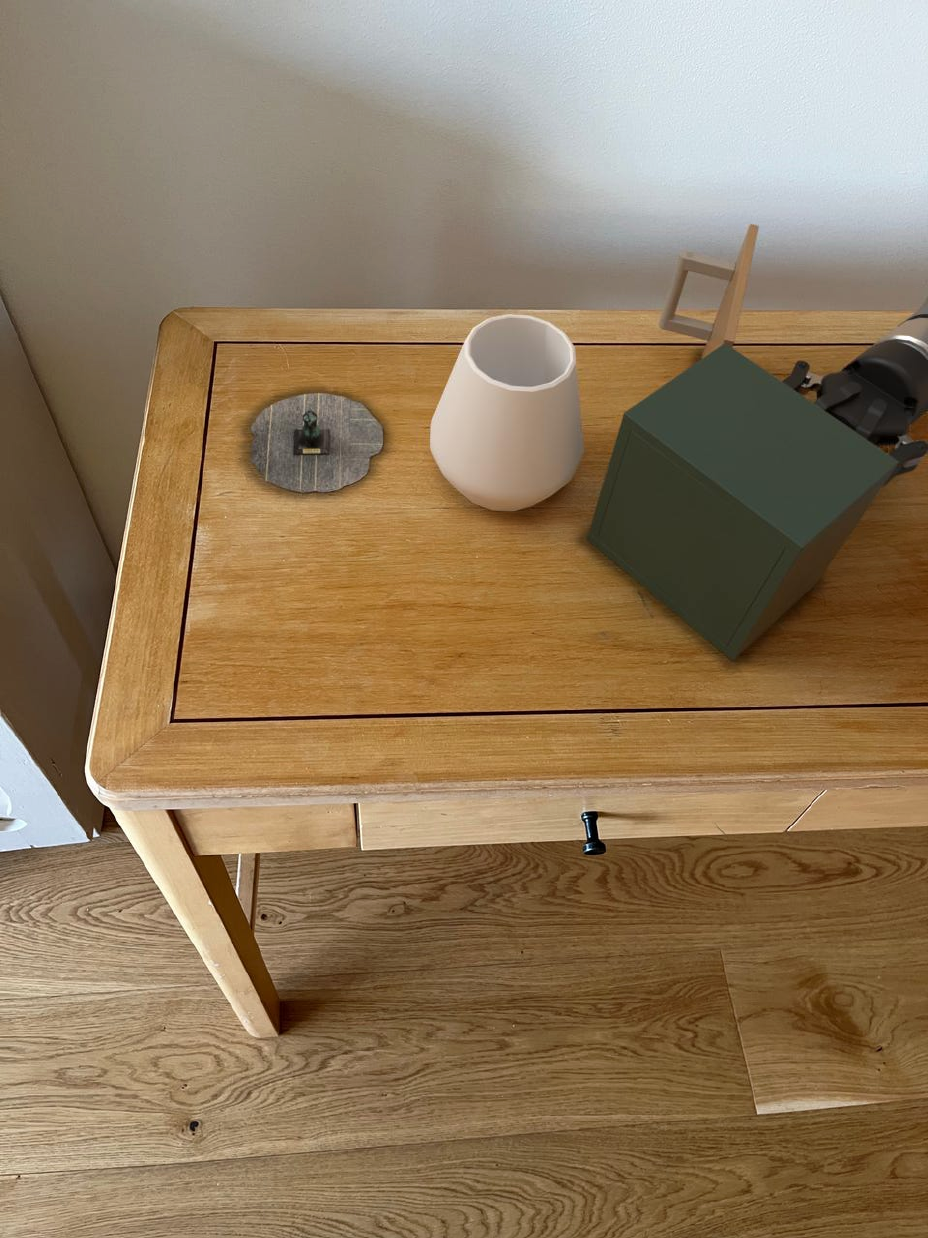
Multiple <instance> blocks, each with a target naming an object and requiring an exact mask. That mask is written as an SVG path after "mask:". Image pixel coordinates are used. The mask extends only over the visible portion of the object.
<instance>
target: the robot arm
mask: <svg viewBox="0 0 928 1238" xmlns="http://www.w3.org/2000/svg"><path fill="white" fill-rule="evenodd" d="M810 368H811V366H810V363H809V362H807V361H805V360H797V361H796V362H795V365H794V367H793V369H792V370H791V373H790V375H788V376H787V377H786V378H785V379H783V380H782V382H783V383H785V384H786V385H788V386H789V387H790V388H792V389H793V390H795V391H796V392H798V393H799V394H801V395H802V396H805V395H807V394H809V393H810V392H816V399H815V400H814V401H813V403H814V404H815V405H817V406H818V407H820V408H821V409H823V410H824V411H826V412H827V413H829V414H830V415H832V416H833V417H834V418H836V419H837V420H839V421H840V422H842V423H843V424H845V425H846V426H848V427H849V428H851V429H852V430H854V431H855V432H856V433H858V434H859V435H861V436H862V437H864V438H865V439H867V440H868V441H870V442H871V443H873V444H874V445H875V446H877V447H886V446H893V447H892V449H891V450H890V452H889V453H888V454H889V455H890V456H892V457H893V458H895V459H896V460H897V461H899V463H898V465H897V466H896V468H895V469H894V471H893V472H892V474H891V475H890V476H889V478H888V479H887V481H886V482H885V484H884V485H883V487H882V488H884V487H885V486H886V485H888V483H889V482H891V481H892V480H893V479H894V478H895V477H897V476H899V475H903V474H907V473H909V472H913V471H914V470H915V469H917V467H918V465H919V464H920V463H921V461H922V460H923V459H924V457H925V455H926V454H927V453H928V442H926V441H924V440H921V439H920V440H914V439H913V438H912V437H911V436H910V435H909V431H910V427H911V426H912V425H913V424H914V423H915V422H917V421H918V420H919V419H920V418H922V416H923V415H925V414H926V413H927V412H928V296H927V298H926V299H925V301H924V302H923V303H922V305H921V306H920V307H919V309H917V310H916V311H915V312H913V313H912V314H911V315H910V316H909V317H908V318H906V319H904V321H902V322H900V324H898V325H897V326H896V327H894V328H893V329H892V330H891V331H889V332H888V333H886V334H885V335H884V336H882V337H881V338H880V339H878V340H877V341H876V342H875V343H874V344H872V345H871V346H870V347H868V348H867V349H866V350H864V351H863V352H862V353H861V354H859V355H858V356H857V357H856V358H854V359H853V360H851V361H850V362H849V363H847V364H846V365H845V366H844V367H843V368H842V369H841V370H839V371H836V372H830V373H827V374H825V375H824V376H822V375H819V374H817V373H813V372H810V371H809V370H810Z"/></svg>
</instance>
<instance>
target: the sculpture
mask: <svg viewBox="0 0 928 1238" xmlns="http://www.w3.org/2000/svg"><path fill="white" fill-rule="evenodd" d="M250 434H252V435H253V436H254V438H253V439H252V442H251V443H250V451H249V453H250V457H251V459H250V462H251V463H252V464H253V466H254V468H256V470H257V471H258V472H259V474H260V475H261V476H262V478H263V479H264V481H265V482H266V483H270V484H273V485H274V486H275V487H280V488H283V489H284V490H289V491H292V492H295V493H304V494H305V493H310V492H318V493H330V492H332V491H340V489H342V488H344V487H345V486H349V485H352V484H354V483H356V482H358V481H360V480H361V479H363V478H364V477H365V476H367V474H368V472H369V469H370V461H371V459H370V458H371V457H372V456H376V455H377V454H379V453H381V451H382V449H383V447H384V432H383V426H382V425H381V424H380V422H379V421H378V420H377V419H376V418H375V417H374V416H373V414H372V413H371V411H369V410H368V408H366V406H365V405H364V404H363V403H362V402H359V401H356V400H352V399H350V398H348V397H346V396H342V395H337V394H331V393H326V392H314V393H313V392H311V393H304V394H298V395H296V396H291V397H287V398H285V399H281V400H278V401H276V402H275V403H273V404H271V405H270V406H268V407H266V408H264V409H262V410H261V412H260V413H259V415H258V416H257V417H256V419H255V421H254V422H253V423H251V426H250Z"/></svg>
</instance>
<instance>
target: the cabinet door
mask: <svg viewBox="0 0 928 1238" xmlns="http://www.w3.org/2000/svg"><path fill="white" fill-rule="evenodd" d="M759 228H760V226H759V225H758V224H753V223H750V224H749V225H748V228H747V231H746V233H745V236H744V238H743V242H742V244H741V246H740V247H741V248H740V250H739V253H738V256H737V258H736V261H730V260H726V259H722V258H717V257H714V256H711V255H706V254H701V253H698V252H693V251H689V250H682V251H680V252H679V255H678V258H677V261H676V264H675V268H674V271H673V275H672V278H671V281H670V285H669V287H668V291H667V295H666V298H665V301H664V305H663V308H662V311H661V314H660V317H659V320H658V327H659V329H661V330H664V331H668V332H673V333H676V334H680V335H684V336H687V337H692V338H696V339H699V340H704V341H706V344H705V346H704V349H703V351H702V354H701V359H703V358H704V357H705V356H707V355H708V354H710V353H711V352H713V351H714V350H716V349H717V348H718V347H720V346H721V345H723V344H724V343H726V344H727V345H729V346H730V347H732V348H734V344H735V341H736V337H737V332H738V327H739V322H740V318H741V314H742V309H743V303H744V298H745V293H746V289H747V284H748V281H749V276H750V270H751V265H752V261H753V257H754V255H753V254H754V252H755V246H756V242H757V239H758V238H757V237H758V232H759ZM689 272H691V273H695V274H700V275H703V276H707V277H712V278H715V279H718V280H719V279H720V280H724V281H728V283H727V285H726V288H725V291H724V294H723V296H722V299H721V301H720V302H721V303H720V305H719V308H718V310H717V314H716V315H715V318H714V321H713V323H712V322H708V321H704V320H700V319H696V318H692V317H688V316H685V315H680V314H676V311H677V308H678V305H679V302H680V299H681V296H682V293H683V289H684V287H685V283H686V280H687V278H688V277H687V276H688V273H689ZM701 359H700V360H701Z"/></svg>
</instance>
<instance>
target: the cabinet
mask: <svg viewBox="0 0 928 1238" xmlns="http://www.w3.org/2000/svg"><path fill="white" fill-rule="evenodd" d="M782 381H783V380H782ZM782 381H781V379H779V378H778V377H776V376H775V375H773V374H771V373H770V372H769V371H767V370H766V369H764V368H763V367H761V366H760V365H758V364H757V363H755V362H754V361H752V360H751V359H750V358H749V357H747V356H745V355H744V354H742V353H741V352H739V351H738V350H736V349H735V348H734V347H730V346H729V345H727V344H726V343H724V344H723V345H721V346H720V347H718V348H717V349H716V350H714V351H713V352H711V353H710V354H708V355H707V356H705V357H704V358H703V359H700V360H698V361H697V362H695V363H694V364H693V365H691V366H689V367H688V368H687V369H685V370H684V371H682V372H680V373H679V374H678V375H676V376H675V377H673V378H672V379H671V380H670V381H668V382H667V383H665V384H664V385H662V386H661V387H659V388H657V389H656V390H655V391H653V392H652V393H651V394H649V395H648V396H646V397H645V398H643V399H641V401H639V402H638V403H636V404H635V405H633V406H632V407H631V408H629V409H627V410H626V411H625V412H624V413H623V415H622V418H621V422H620V425H619V429H618V431H617V435H616V439H615V441H614V445H613V449H612V451H611V455H610V458H609V462H608V465H607V468H606V472H605V476H604V479H603V483H602V486H601V490H600V493H599V496H598V500H597V503H596V506H595V510H594V513H593V516H592V520H591V524H590V527H589V530H588V534H587V537H586V540H587V541H588V542H589V543H590V544H591V545H593V547H595V548H596V549H597V550H599V551H600V552H601V553H602V554H603V555H604V556H606V557H607V558H608V559H609V560H611V561H612V562H613V563H614V564H615V565H616V566H618V568H620V569H621V570H623V571H624V572H625V573H626V574H627V575H629V576H630V577H631V578H632V579H634V581H636V583H638V584H640V585H641V587H643V588H644V589H645V590H646V591H648V592H649V593H650V594H651V595H652V596H654V597H655V598H656V599H657V600H658V601H659V602H661V603H662V604H663V605H664V606H665V607H667V608H668V609H669V610H670V611H671V612H673V613H674V614H675V615H676V616H678V617H679V619H681V620H682V621H683V622H685V623H686V624H687V625H688V626H690V627H691V628H692V629H693V630H695V631H696V632H697V633H698V634H699V635H700V636H702V638H703V639H705V640H706V641H708V642H709V643H710V644H711V645H712V646H714V647H715V648H716V649H717V650H718V651H720V652H721V653H722V654H723V655H724V656H725V657H726V658H728V660H731V661H732V662H734V661H735V660H736V659H737V658H738V657H739V656H740V655H741V654H742V653H743V652H744V651H745V650H746V649H748V648H749V647H750V646H751V645H752V644H753V643H754V642H755V641H756V640H757V639H758V638H759V637H761V636H762V635H763V634H764V633H765V632H766V631H767V630H768V629H769V628H770V627H771V626H773V624H775V623H776V622H777V621H778V620H779V619H780V618H782V616H783V615H784V614H785V613H786V612H787V611H789V610H790V609H791V608H792V607H793V606H794V605H795V604H796V603H797V602H798V601H799V600H800V599H802V597H804V596H805V595H806V594H807V593H808V592H809V591H810V590H811V589H812V588H813V587H814V586H816V584H818V582H819V581H820V580H821V578H822V577H823V576H824V574H825V572H826V571H827V569H828V568H829V566H830V565H831V563H832V562H833V560H834V559H835V558H836V556H837V555H838V553H839V551H840V550H841V549H842V547H843V546H844V545H845V543H846V541H847V540H848V538H849V537H850V536H851V534H852V533H853V531H854V530H855V528H856V527H857V525H858V524H859V522H860V521H861V519H862V518H863V516H864V515H865V514H866V512H867V510H868V509H869V508H870V507H871V505H872V503H873V502H874V500H875V499H876V497H877V496H878V494H879V493H880V492H881V490H882V489H883V488H884V487H883V485H884V484H885V482H886V481H887V479H888V478H889V476H890V475H891V474H892V472H893V471H894V469H895V468H896V466H897V465H898V463H899V461H897V460H896V459H895V458H893V457H892V456H890V455H889V454H890V453H888V452H886V451H884V450H883V449H882V448H880V447H879V446H875V445H874V444H873V443H871V442H870V441H868V440H867V439H865V438H864V437H862V436H861V435H859V434H858V433H856V432H855V431H854V430H852V429H851V428H849V427H848V426H846V425H845V424H843V423H842V422H840V421H839V420H837V419H836V418H834V417H833V416H832V415H830V414H829V413H827V412H826V411H824V410H823V409H821V408H820V407H818V406H817V405H815V404H814V402H812V401H811V400H810V399H808V398H807V397H805V395H803V396H802V395H801V394H799V393H798V392H796V391H795V390H793V389H792V388H790V387H789V386H788V385H786V384H785V383H783V382H782Z"/></svg>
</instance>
